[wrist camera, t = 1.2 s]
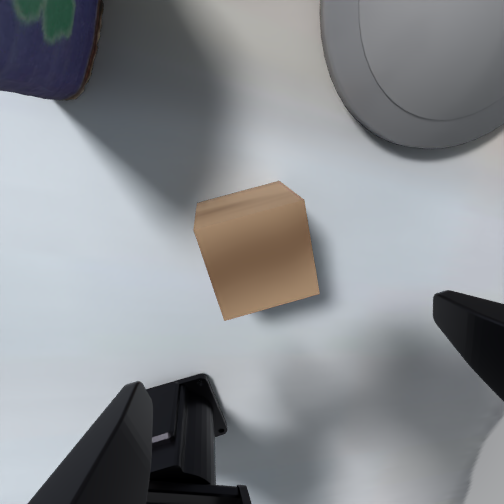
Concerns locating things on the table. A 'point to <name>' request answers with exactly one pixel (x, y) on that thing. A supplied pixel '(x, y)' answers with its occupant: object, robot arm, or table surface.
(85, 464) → the robot arm
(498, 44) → the slate plate
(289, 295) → the walnut cube
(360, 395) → the table surface
